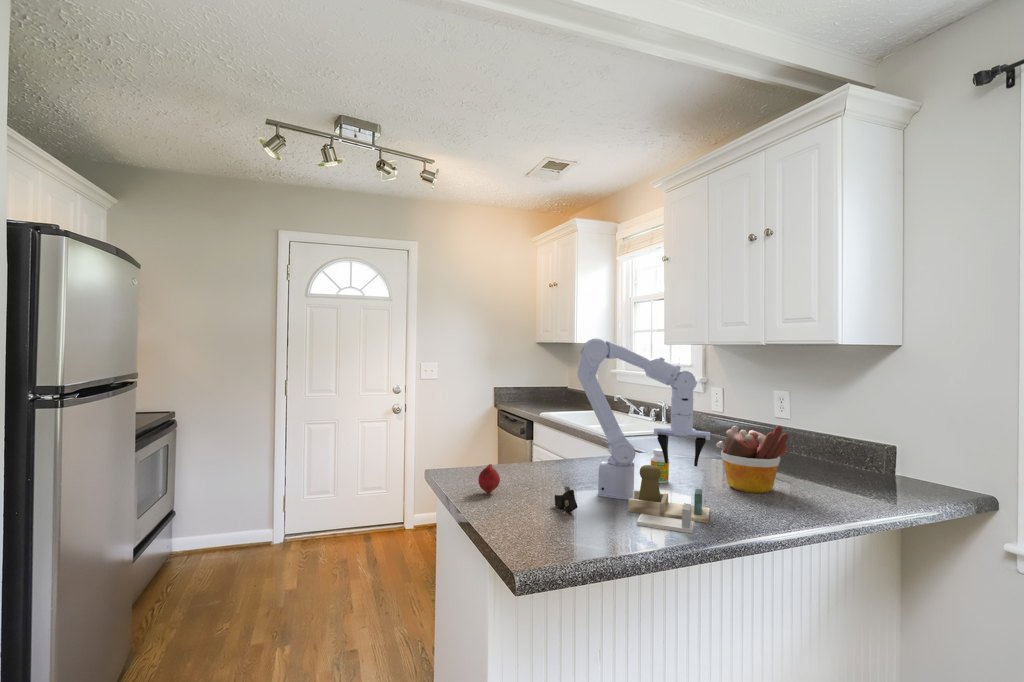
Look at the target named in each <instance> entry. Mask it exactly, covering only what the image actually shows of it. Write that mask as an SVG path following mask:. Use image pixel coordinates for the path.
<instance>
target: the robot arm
mask: <svg viewBox="0 0 1024 682" xmlns="http://www.w3.org/2000/svg"><path fill="white" fill-rule="evenodd" d="M605 359H608V360H611V359H613V360H614V359H618V360H621V361H623V362H626V363H628V364H629V365H632V366H635V367H637V368H640V369H642V370H643V371H644V372H645V375H646V377H648V378H650V379H652V380H654V381H657V382H659V383H660V384H663V385H666V386H670V387H671V400H670V401H671V402H670V403H671V405H670V428H669V427H667V428H666V427H654V428H653V436H657V437H656V438H657V441H658V443H659V446H660V449H662V452H663V455H664V461H665V463H668V459H669V449H668V448H669V437H673V438H683V439H684V438H685V439H686V438H687V439H695V441H694V443H695V446H694V447H695V448H694V449H695V451H694V463H693V464H694V465H693V466H694V467H698V462H699V457H700V455H701V452H702V449H703V448H704V446H705V444H706V441H711V431H703V430H702V431H701V430H696V429H695V430H694V429H693V428H694V390H695V388H696V387H697V385H698V384H697V383H698V382H697V380H696V377H695V375H694V374H693V373H692V372H690V371H689V370H684V369H681V366H680V365H674V364H671V363H670V362H667V361H665V358H664V357H655V356H654V357H651V358H650V359H649V358H648V357H644V356H643V355H641V354H638V353H637V352H635V351H632V350H630V349H628V348H626V347H624V346H622V345H620V344H617V343H613V342H611V341H607V340H606V341H605V340H604V339H601V338H598V337H595V338H592V339H589V340H587V341H586V342H585V344H584V345H583V346H582V348H581V350H580V353H579V361H578V367H577V371H576V372H577V373H576V374H577V378H578V380H579V382H580V385H581V386H582V389H583V391H584V393H585V395H586V397H587V400H588V401H589V404H590V405H591V406H590V407H592V410H593V412H594V414H595V417H596V418H597V420H598V423H599V424H600V426H601V429H602V431H603V432H604V436H605V438H606V440H607V449H608V452H609V454H610V457H609V458H608V459H607V461H601V462H600V463H599V467H598V485H597V486H598V489H597V491H598V493H597V496H598V497H603V498H610V499H619V500H624V501H628V499H629V498H630V499H634V490H635V461H634V460H635V458H636V449H635V447H634V445H633V444H632V443H630V441H629V439H627V438H626V437H625V434H624V433H623V431H622V429H621V427H620V425H619V422H618V421H617V419H616V415H614V413H613V410H612V408H611V405H610V404H609V402H608V400H607V397H606V396H605V394H604V391H603V389H602V387H601V384H600V383H599V380H598V379H597V376H596V374H597V372H598V371H599V367H600V365H601V364H602V363H603V361H604V360H605Z"/></svg>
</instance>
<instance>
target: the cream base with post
mask: <svg viewBox="0 0 1024 682" xmlns="http://www.w3.org/2000/svg"><path fill="white" fill-rule="evenodd" d="M683 504H684V505H683V509H682V519H676V518H669V517H662V516H655V515H648V514H641V513H640V515H639V517H638V519H637V521H636V526H641V527H646V528H647V527H648V528H655V529H661V530H667V531H673V532H674V531H675V532H681V533H687V534H692V535H693V533H694V530H695V529H694V528H695V521H691V506H692V504H691V503H685V502H684V503H683Z"/></svg>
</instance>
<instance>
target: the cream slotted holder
mask: <svg viewBox="0 0 1024 682" xmlns="http://www.w3.org/2000/svg"><path fill="white" fill-rule="evenodd" d="M639 493H640V489H634V499H630V498H629V499H628V500H627V501H628V504H627V507H628V509H627V511H628V513H629V512H630V513H634V514H635V513H636V514H640V515H641V514H645V515H652V516H659V517H666V518H673V519H679V520H682V509H683V505H684V503H683V504H682V503H673V502H669V493H665V492H664V493H663V492H660V499H661V502H653V501H645V500H639ZM693 501H694V505H691V521H693V522H696V523H697V522H698V523H706V524H709V521H710V510H711V509H710V507H705V506H703V489H702V488H695V490H694V500H693Z"/></svg>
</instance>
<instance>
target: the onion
mask: <svg viewBox="0 0 1024 682" xmlns="http://www.w3.org/2000/svg"><path fill="white" fill-rule="evenodd" d="M500 479H501V478H500V474H499V472H498V471H497V470H496V469H495V468H494V467H493V464H492V463H488V465H486V467H485V468H483V469H482V471H480V472H479V475H478V486H479V487H480V488H481V490H483V492H485V493H487V494H492V492H493V491H495V490H496V489H497V488H498V487H499V484H500V482H501V480H500Z"/></svg>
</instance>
